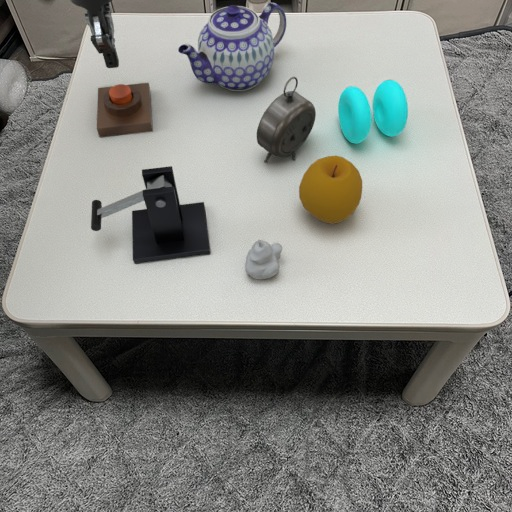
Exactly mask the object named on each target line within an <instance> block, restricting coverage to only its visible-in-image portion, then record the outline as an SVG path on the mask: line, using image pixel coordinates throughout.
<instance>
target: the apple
mask: <svg viewBox="0 0 512 512" xmlns="http://www.w3.org/2000/svg"><path fill="white" fill-rule="evenodd" d="M362 193H363V178H362V176H361V174H360V170H359V169H358V168H357V167H356V166H355V165H354V163H352V162H351V161H350V160H348V159H347V158H345V157H343V156H339V155H328V156H325V157H322V158H319V159H316V160H315V161H314V162H313V163H311V164H310V165H309V167H308V168H307V169H306V171H305V172H304V174H303V176H302V178H301V180H300V183H299V186H298V195H299V200H300V203H301V205H302V206H303V208H304V209H305V210H306V212H307V213H309V214H310V215H311V216H313V217H314V218H315V219H317V220H318V221H321V222H322V223H326V224H338V223H341V222H343V221H345V220H346V219H348V218H349V217H351V216H352V215H353V214H354V212H355V211H356V210H357V208H358V207H359V205H360V203H361V200H362Z"/></svg>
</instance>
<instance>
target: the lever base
mask: <svg viewBox="0 0 512 512" xmlns="http://www.w3.org/2000/svg"><path fill="white" fill-rule="evenodd" d="M162 175H164V176H165V177H166V179H167V180H168V181H169V182H170V183H171V184H172V187H163V188H155V189H147V182H148V181H150V180H153V179H155V178H157V177H160V176H162ZM141 177H142V179H143V183H144V187H145V189H147V190H145V189H142V191H143V198H144V201H143V202H144V205H145V208H144V209H143V208H142V209H135V210H131V224H132V225H131V231H132V233H131V234H132V237H131V238H132V261H133V264H134V265H138V264H145V263H152V262H159V261H160V262H161V261H167V260H168V261H169V260H174V259H183V258H190V257H191V258H192V257H199V256H206V255H211V248H210V239H209V230H208V222H207V214H206V207H205V202H204V201H201V202H192V203H185V204H181V203H180V198H179V193H178V187H177V183H176V177H175V174H174V168H173V166H172V165H170V166H161V167H153V168H152V167H151V168H144V169H141Z"/></svg>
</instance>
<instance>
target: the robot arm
mask: <svg viewBox="0 0 512 512" xmlns="http://www.w3.org/2000/svg"><path fill="white" fill-rule="evenodd" d="M69 1H70V2H71V3H72V4H73V5H75V6H76V7H80V8H83V9H85V11H86V12H84V20H85V22H86V25H87V26H88V27H89V30H90V32H91V35H90V42H91V43H92V45H93V47H94V48H95V50H96V51H97V53H98V54H99V55H101V54H102V56H103V57H102V58H103V60H104V64H105V67H106V68H107V69H115V68H118V67H119V66H120V60H119V56H118V53H117V48H116V38H115V23H114V20H113V15H112V6H111V2H112V1H113V0H69Z"/></svg>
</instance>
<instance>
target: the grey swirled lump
mask: <svg viewBox="0 0 512 512" xmlns="http://www.w3.org/2000/svg"><path fill="white" fill-rule="evenodd" d="M282 252H283V246H282V244H281V243H279V242H273V243H272V244H270V243H269V242H268V241H266V240H264V239H257V240H256V241H255V242H254V243H253V244H252V245H251V248H250V249H249V250H248V252H247V254H246V260H245V272H246V273H247V274H248V276H250V277H251V278H252V279H257V280H265V279H270V278H272V277H274V276H275V275H276V274H278V273H279V271H280V263H279V259H280V258H281V254H282Z"/></svg>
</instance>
